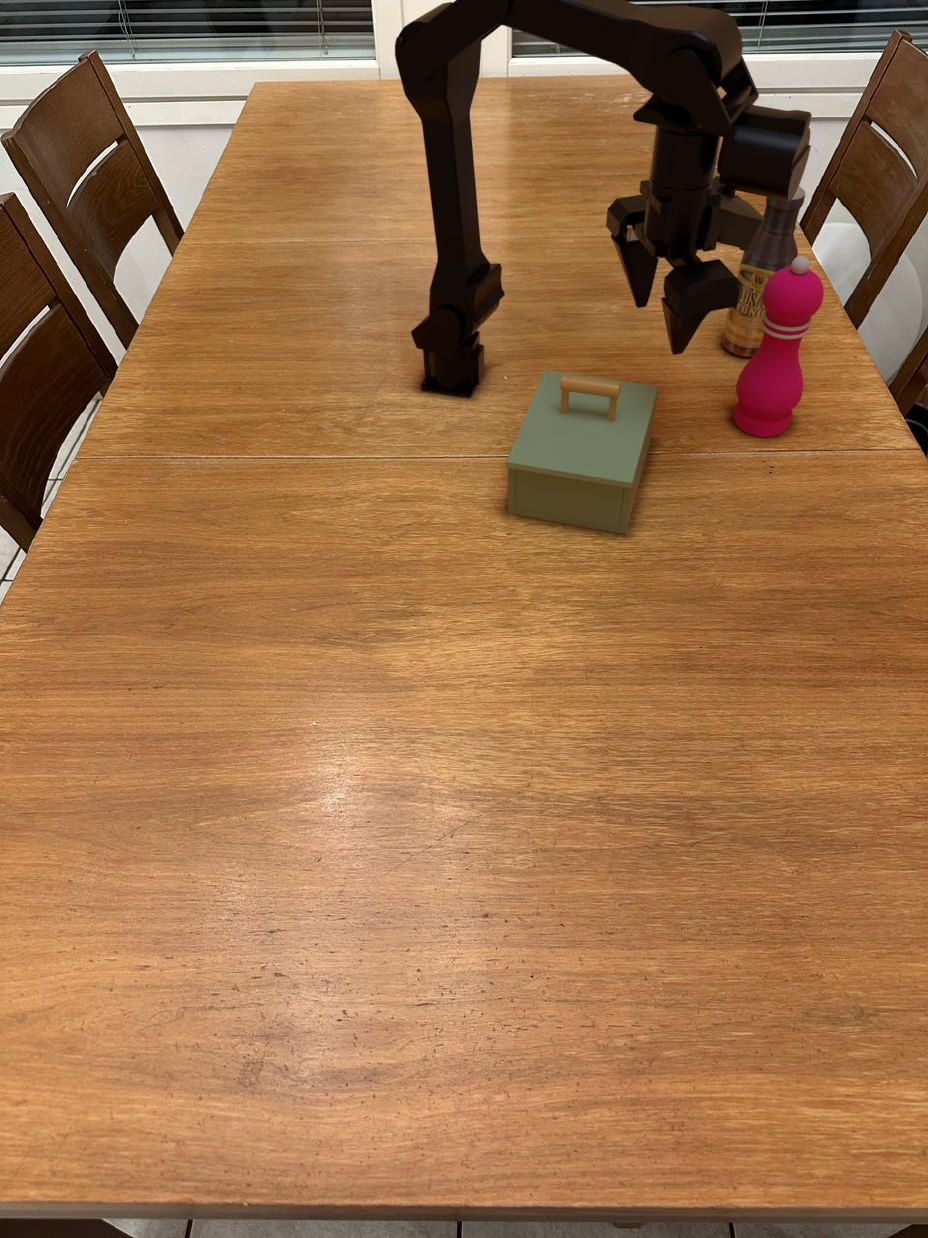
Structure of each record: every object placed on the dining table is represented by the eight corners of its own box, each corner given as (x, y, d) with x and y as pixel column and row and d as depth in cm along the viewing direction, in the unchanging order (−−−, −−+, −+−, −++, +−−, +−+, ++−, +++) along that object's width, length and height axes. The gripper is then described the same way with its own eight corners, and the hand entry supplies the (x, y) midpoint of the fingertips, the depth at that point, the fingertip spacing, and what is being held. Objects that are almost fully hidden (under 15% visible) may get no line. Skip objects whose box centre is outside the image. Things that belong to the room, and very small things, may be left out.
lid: (631, 489, 92) (637, 446, 88) (506, 467, 94) (506, 425, 90) (657, 392, 102) (663, 349, 98) (543, 375, 105) (545, 333, 101)
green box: (625, 534, 97) (632, 484, 92) (507, 513, 100) (508, 463, 95) (650, 442, 107) (657, 392, 102) (541, 425, 110) (543, 375, 105)
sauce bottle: (713, 352, 119) (745, 195, 104) (729, 328, 122) (761, 172, 107) (765, 366, 116) (804, 206, 102) (779, 340, 120) (819, 183, 105)
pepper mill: (794, 443, 106) (842, 277, 91) (728, 436, 108) (765, 272, 93) (792, 405, 111) (838, 241, 96) (729, 399, 112) (765, 236, 97)
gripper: (813, 208, 81) (773, 365, 93) (717, 124, 93) (692, 272, 105) (694, 228, 79) (668, 385, 91) (611, 140, 91) (597, 289, 103)
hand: (658, 329), depth 97 cm, fingers open, 9 cm apart
